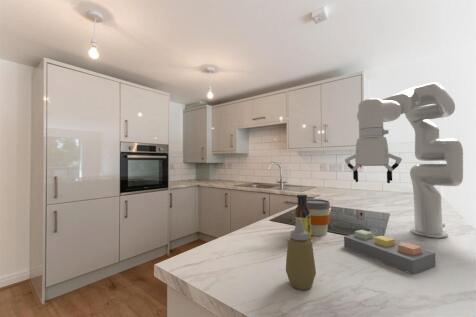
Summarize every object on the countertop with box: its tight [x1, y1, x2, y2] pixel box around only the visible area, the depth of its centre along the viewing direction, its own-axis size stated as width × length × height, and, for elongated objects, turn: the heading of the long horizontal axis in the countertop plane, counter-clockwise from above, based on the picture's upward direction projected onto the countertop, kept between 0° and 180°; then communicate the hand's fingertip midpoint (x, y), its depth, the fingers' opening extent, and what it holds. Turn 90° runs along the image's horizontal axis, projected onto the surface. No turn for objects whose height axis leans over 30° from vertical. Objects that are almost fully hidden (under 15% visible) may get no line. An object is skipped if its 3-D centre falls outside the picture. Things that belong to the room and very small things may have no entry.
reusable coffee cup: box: [307, 198, 331, 237], centre depth 104 cm, size 13×13×15 cm
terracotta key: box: [398, 241, 423, 256], centre depth 71 cm, size 4×4×2 cm
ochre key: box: [374, 235, 396, 247], centre depth 78 cm, size 4×4×2 cm
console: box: [343, 233, 437, 275], centre depth 78 cm, size 12×24×4 cm, turn 24°
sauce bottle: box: [294, 193, 312, 241], centre depth 94 cm, size 7×6×20 cm
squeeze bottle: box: [285, 218, 317, 291], centre depth 61 cm, size 8×8×18 cm
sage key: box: [354, 229, 374, 240], centre depth 85 cm, size 4×4×2 cm
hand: (372, 182), depth 78 cm, fingers open, 9 cm apart
